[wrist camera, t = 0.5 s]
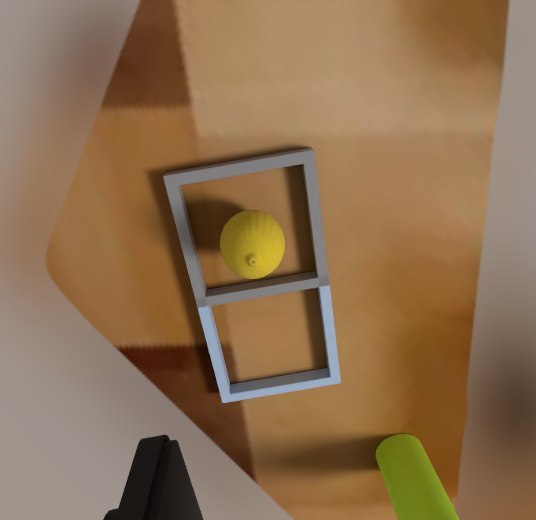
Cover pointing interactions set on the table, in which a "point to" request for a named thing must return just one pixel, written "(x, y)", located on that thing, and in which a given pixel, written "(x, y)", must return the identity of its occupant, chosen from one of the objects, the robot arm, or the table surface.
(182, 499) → the robot arm
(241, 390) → the grey divided frame
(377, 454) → the soap dispenser
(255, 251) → the lemon
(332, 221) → the table surface
